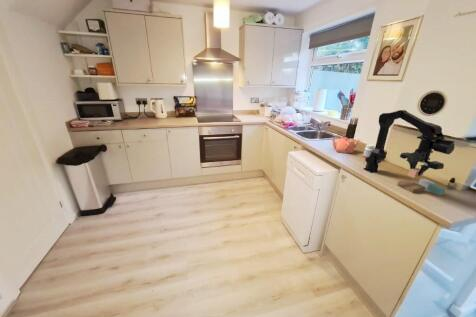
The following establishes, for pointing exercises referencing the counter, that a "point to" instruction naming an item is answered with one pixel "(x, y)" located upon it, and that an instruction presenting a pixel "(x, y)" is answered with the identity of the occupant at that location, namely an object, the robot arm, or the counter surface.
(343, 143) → the pot
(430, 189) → the teal brick
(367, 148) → the pill bottle
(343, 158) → the counter surface
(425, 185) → the grey brick
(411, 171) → the terracotta brick
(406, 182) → the walnut slab
